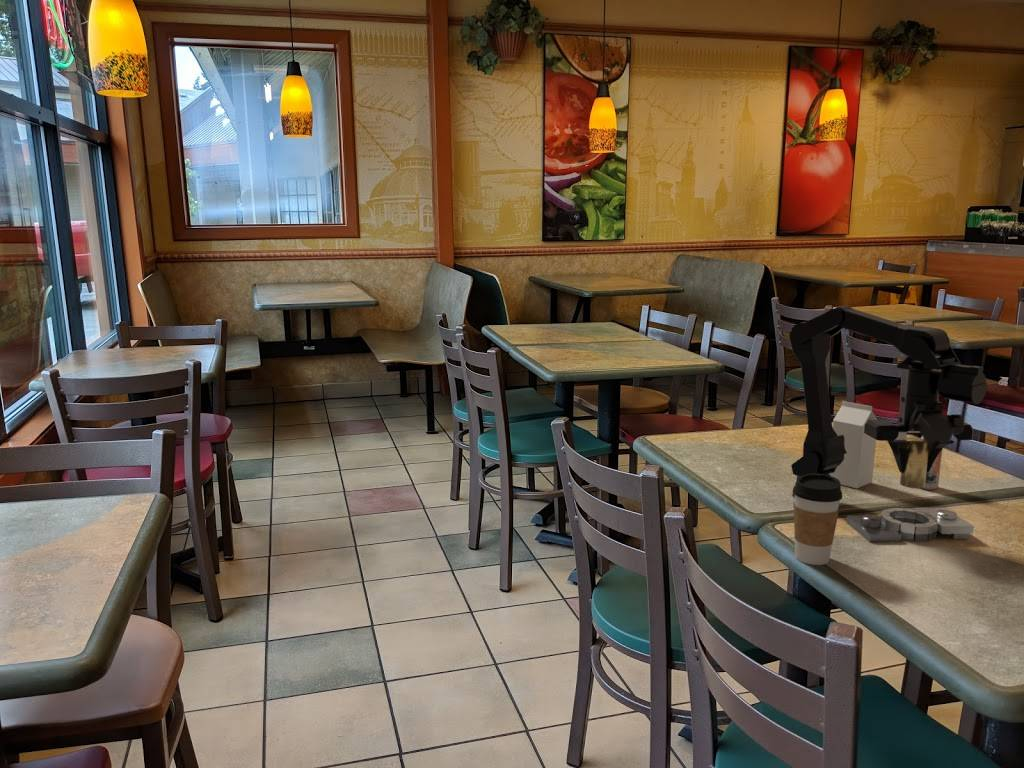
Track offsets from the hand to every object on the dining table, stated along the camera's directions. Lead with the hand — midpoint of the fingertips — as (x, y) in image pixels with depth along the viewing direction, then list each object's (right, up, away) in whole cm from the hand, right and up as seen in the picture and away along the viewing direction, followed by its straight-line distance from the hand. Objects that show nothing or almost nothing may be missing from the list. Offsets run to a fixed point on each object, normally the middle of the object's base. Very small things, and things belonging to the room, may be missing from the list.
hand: (913, 472), depth 155 cm
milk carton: (+1, -6, +32) cm, 32 cm away
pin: (0, -2, 0) cm, 2 cm away
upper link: (+3, -12, +2) cm, 12 cm away
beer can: (+17, -7, +28) cm, 34 cm away
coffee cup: (-24, -15, -10) cm, 30 cm away
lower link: (-2, -12, +2) cm, 12 cm away
